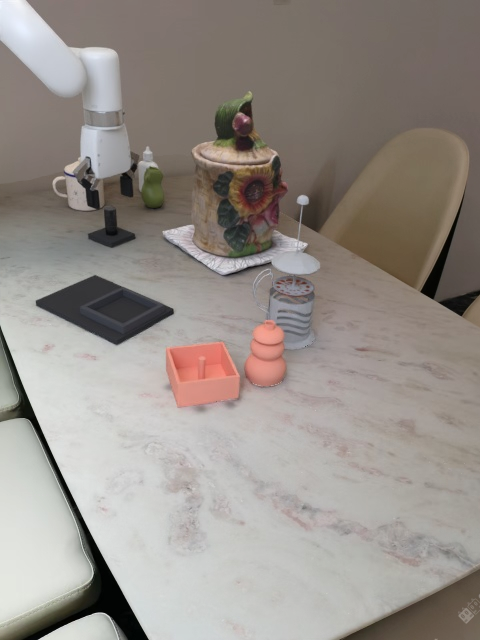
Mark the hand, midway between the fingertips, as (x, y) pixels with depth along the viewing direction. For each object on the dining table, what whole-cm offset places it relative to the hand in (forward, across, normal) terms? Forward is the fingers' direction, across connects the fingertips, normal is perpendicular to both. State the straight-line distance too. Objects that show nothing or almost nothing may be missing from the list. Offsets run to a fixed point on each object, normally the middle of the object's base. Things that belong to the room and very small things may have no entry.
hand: (110, 201), depth 128 cm
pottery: (+9, +26, +52) cm, 59 cm away
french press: (+9, +9, +51) cm, 52 cm away
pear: (+9, -21, -7) cm, 24 cm away
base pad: (+8, +23, +22) cm, 33 cm away
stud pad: (+8, 0, 0) cm, 9 cm away
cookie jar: (+9, -16, +22) cm, 28 cm away
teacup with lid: (+9, -9, -20) cm, 24 cm away
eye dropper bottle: (+9, -28, -15) cm, 33 cm away
